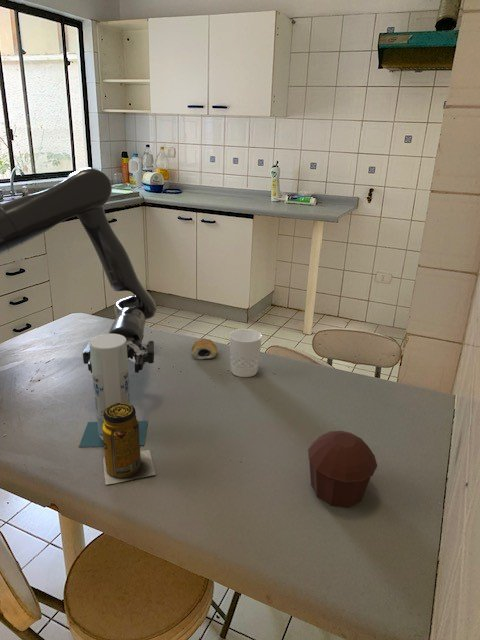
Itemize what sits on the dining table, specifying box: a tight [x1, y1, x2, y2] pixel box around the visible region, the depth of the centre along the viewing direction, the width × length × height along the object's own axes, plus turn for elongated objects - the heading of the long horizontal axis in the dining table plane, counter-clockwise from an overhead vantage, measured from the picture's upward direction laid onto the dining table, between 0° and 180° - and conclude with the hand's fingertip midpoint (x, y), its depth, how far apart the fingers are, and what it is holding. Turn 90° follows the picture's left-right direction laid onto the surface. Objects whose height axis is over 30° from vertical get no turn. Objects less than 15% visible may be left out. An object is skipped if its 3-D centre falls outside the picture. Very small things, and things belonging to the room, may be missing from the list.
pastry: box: [191, 337, 218, 360], centre depth 125 cm, size 9×7×4 cm
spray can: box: [88, 333, 131, 440], centre depth 87 cm, size 6×6×20 cm
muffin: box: [307, 430, 378, 508], centre depth 77 cm, size 12×11×10 cm
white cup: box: [229, 328, 263, 378], centre depth 115 cm, size 8×8×10 cm
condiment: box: [102, 403, 157, 486], centre depth 80 cm, size 7×8×12 cm
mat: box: [78, 420, 149, 448], centre depth 91 cm, size 12×8×1 cm, turn 95°
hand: (114, 368), depth 91 cm, fingers open, 8 cm apart
